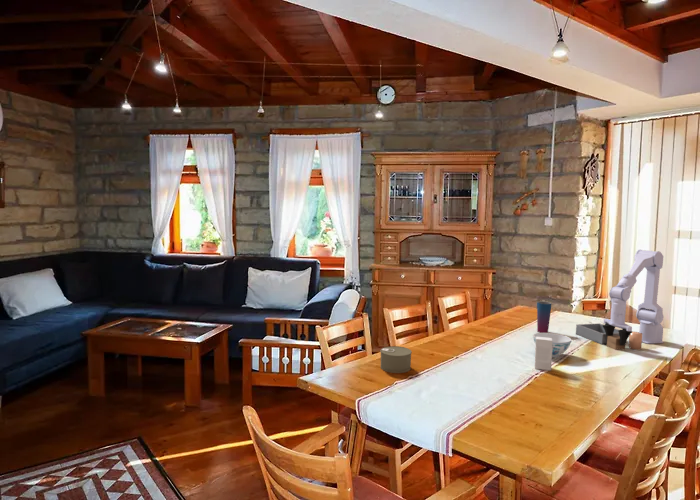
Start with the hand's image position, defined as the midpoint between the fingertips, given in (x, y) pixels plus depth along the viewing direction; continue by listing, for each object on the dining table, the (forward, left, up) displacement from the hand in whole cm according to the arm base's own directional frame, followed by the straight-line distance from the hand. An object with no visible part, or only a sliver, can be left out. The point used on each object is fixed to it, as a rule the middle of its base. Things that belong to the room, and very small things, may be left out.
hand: (615, 342), depth 216 cm
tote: (-4, -14, -2) cm, 15 cm away
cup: (+16, -30, -3) cm, 34 cm away
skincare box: (+50, +18, -3) cm, 54 cm away
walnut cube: (0, 0, -2) cm, 2 cm away
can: (+107, +7, -3) cm, 108 cm away
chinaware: (+36, +4, -3) cm, 37 cm away
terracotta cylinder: (-9, +2, -2) cm, 9 cm away
